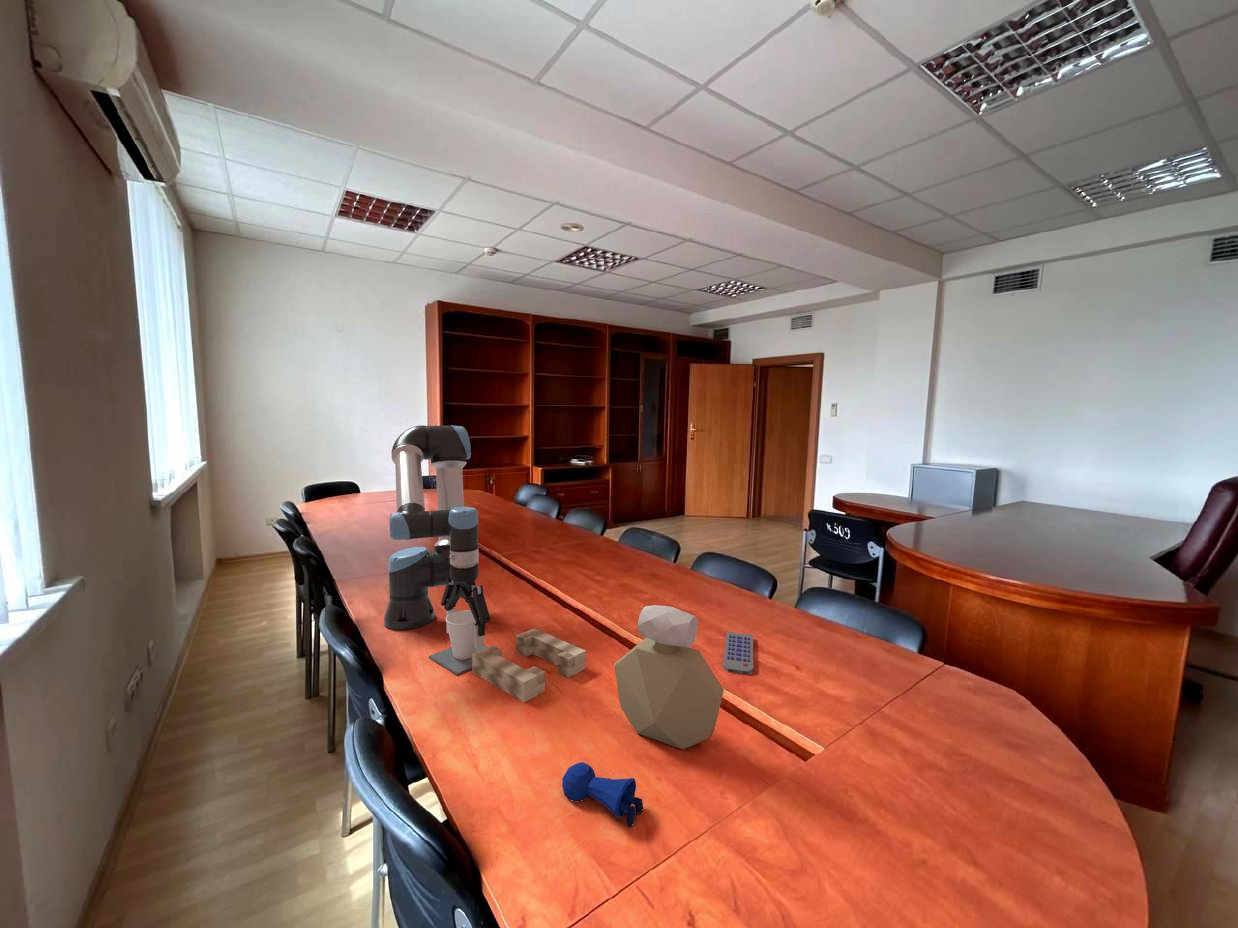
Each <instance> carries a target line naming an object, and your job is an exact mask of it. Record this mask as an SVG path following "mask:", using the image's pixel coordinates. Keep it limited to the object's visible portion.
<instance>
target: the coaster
mask: <svg viewBox="0 0 1238 928" xmlns="http://www.w3.org/2000/svg"><path fill="white" fill-rule="evenodd" d="M487 647H488V646H487V645H483V646H481V647H479V648H477V652H478V651H480V650H483V649H485V648H487ZM428 658H429V659H430V660H431V661H433V662H434V663H436V664H438V665H440V666H441V667H443V668H444V669H446V670H447V671H449V672H451V673H452V674H454V675H456V676H460V675H461V674H464V673H466V672H468V671H470V670H471V671H472V658H470V659H466V660H459V659H456V658H455V657H454V656H453V651H452V646H451V647H448V648H446V649H443V650H441V651H438V652H435V653H433V654H429V655H428Z"/></svg>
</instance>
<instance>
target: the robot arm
mask: <svg viewBox="0 0 1238 928" xmlns="http://www.w3.org/2000/svg"><path fill="white" fill-rule="evenodd" d="M471 455H472V451H471V442H470V437H469V433H468V431H467V429H466V428H465V427H464V426H461V425H452V424H451V425H416V426H411V427H410V428H408V429H406V430H404V431H403V432H401V434H400V435H399V436H398V437H397V438H396V440H395V441H394V443H393V445H392V448H391V461H392V462H393V464H394V465H395V494H396V496H395V497H396V503H395V504H396V512H391V513H390V514H389V536H390V538H391V540H394V541H397V540H398V541H401V540H402V541H403V540H405V541H408V540H415V539H427V538H438V540H437V541H436V543H435V544H433V550H430V551H429V550H428V548H427V547H425V546H414V547H413V546H412V547H407V548H404V549H400V550H397V551H395V552H394V553H392V554H391V555H390V557H389V559H388V568H387V572H388V585H389V588H388V591H389V593H388V594H389V597H388V598H389V601H388V603H387V607H386V610H385V612H384V616H383V625H384V627H385V628H388V629H391V630H399V631H400V630H401V631H404V630H411V629H416V628H420V627H424V626H426V625H428V624H429V623H431V622H432V621H434V619H435V609H434V606H433V604H432V601H431V599H430V596H429V588H434V587H443V586H444V587H445V589H444V593H443V595H442V597H441V598H442V599H441V602H440V605H441V607H444V610H445V614H446V615H445V616H446V617H447V616H448V615H450V614H452V613H454V612H457V608H456V607H457V603H458V602H459V600H460V598H462V599H463V600H464V601H465V603H467V605H468V607H469V610H471V612H472V614H473V617H474V619H475V621H476V623H475V624H474V648H479V647H481V646H483V645H485V643H486V640H485V638H486V637H485V635H486V624H487V623H490V622H492V621H491V616H490V612H489V609H488V606H487V602H486V598H485V595H484V594H485V593H484V586H483V585H477V584H476V580H477V578H478V577H479V562H480V561H479V557H480V556H479V521H480V520H479V517H478V515H479V514H478V513H479V512H478V509H477V508H476V507H471V506H465V504H464V499H465V498H464V481H463V480H464V479H463V478H464V477H463V468H464V467H465V466H466V465H467V460H470V459H471ZM424 460H425V461H426V460H429V461H430V465H431V466H432V467H433V468H434V469H435V476H436V477H435V478H436V481H435V482H436V499H437V501H436V504H437V510H426V507H425V495H424V485H423V484H424V483H423V474H422V473H423V472H422V463H423V461H424ZM446 617H445V618H446ZM445 622H446V621H445ZM446 634H449V631H448V626H447V622H446ZM485 646H486V645H485Z"/></svg>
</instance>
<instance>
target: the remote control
mask: <svg viewBox="0 0 1238 928" xmlns="http://www.w3.org/2000/svg"><path fill="white" fill-rule="evenodd" d="M753 637H754V635H753V634H747V633H740V632H732V631H726V636H725V642H724V643H725V645H724V653H723V663H722V668H724V669H725V670H726V671H725V670H724V669H723V670H724V671H725V672H727V671H728V672H727V673H730V672H732V674H737V675H744V674H745V676H750V675H752V674H753V673H754V638H753ZM752 672H753V673H752ZM751 673H752V674H751ZM749 674H750V675H749Z"/></svg>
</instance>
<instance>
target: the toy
mask: <svg viewBox="0 0 1238 928" xmlns="http://www.w3.org/2000/svg"><path fill="white" fill-rule="evenodd" d="M561 780H562V781H561V784H562V785H561V786H562V791H563V795H564V797H565V796H566V797H567V798H568V799H570V800H573V801H580V802H582V801H581V800H583V801H585V799H587V798H588V797H591V798H592V799H595V801H598V802H599V803H600V804H602V805H603V806H604V807H605V808H606V809H608V810H609V811H610V812H611V813H612V814H613V815H614V817H616V818H617V819H619V818H622V817H624V815H626V819H625V820H626V824H627V826H628V827H629V826H630V827H631V828H632V826H633V825H634V824H633V823H634V822H635V820H636V819H635V818H636V813H637V812H638V813H640V814H641V813H642V812H643V811H642V809H643V810H644V806H643V805H644V804H643V802H644V801H643V799H642V798H640V797H636V796H635V793H636V788H637V783H636V779H635V778H634V777H629V778H615V779H614V778H607V777H600V776H596V773H595V770H594V769H593V767H592V766H591V765H589V764H588V763H586V762H583V761H582V762H576V763H574V764H573V765H571V766H569V767H568V768H567V769H566V771H565V773H564V774H563V777H562V779H561ZM566 797H565V798H566ZM567 798H566V799H567ZM568 799H567V800H568ZM570 800H569V801H570ZM573 801H572V802H573ZM632 805H633V806H632ZM641 811H642V812H641ZM638 813H637V814H638ZM632 824H633V825H632ZM630 827H629V828H630Z"/></svg>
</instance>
